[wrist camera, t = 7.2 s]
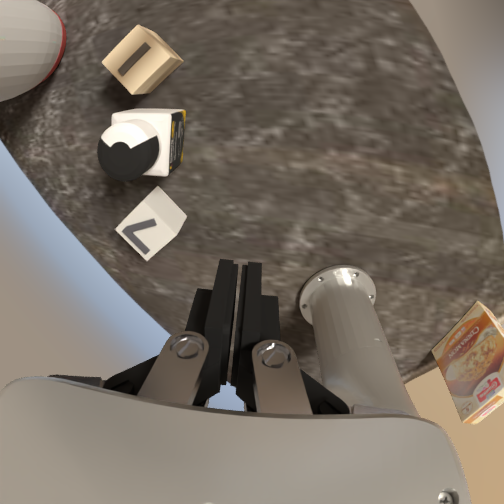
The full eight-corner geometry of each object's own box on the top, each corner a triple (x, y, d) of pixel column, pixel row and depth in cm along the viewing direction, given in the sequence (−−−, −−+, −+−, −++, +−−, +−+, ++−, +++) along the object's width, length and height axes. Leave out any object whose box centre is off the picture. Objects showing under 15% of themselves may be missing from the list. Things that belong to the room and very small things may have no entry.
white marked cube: (187, 216, 43) (176, 236, 37) (159, 240, 45) (146, 262, 39) (158, 185, 41) (142, 201, 35) (131, 211, 43) (114, 230, 37)
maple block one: (184, 61, 32) (170, 56, 27) (150, 93, 34) (131, 94, 29) (155, 32, 30) (137, 24, 25) (122, 64, 32) (100, 62, 27)
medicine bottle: (182, 162, 39) (153, 191, 29) (133, 159, 39) (90, 187, 28) (186, 109, 36) (156, 118, 25) (134, 108, 35) (89, 118, 25)
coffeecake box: (477, 299, 49) (524, 369, 32) (490, 310, 50) (533, 375, 33) (429, 350, 56) (461, 424, 39) (446, 357, 57) (476, 425, 40)
